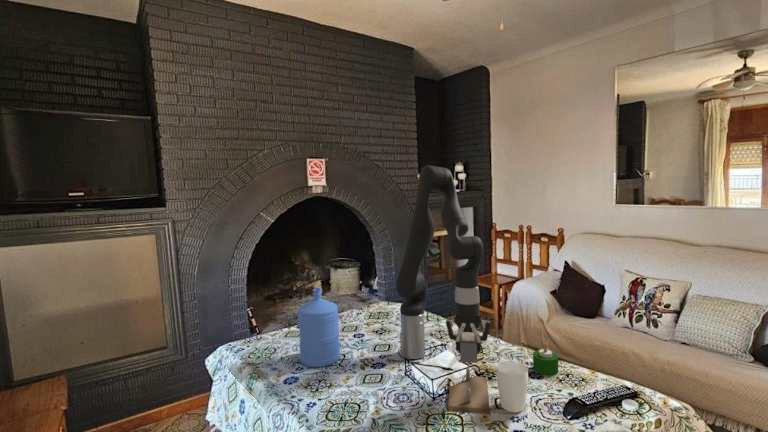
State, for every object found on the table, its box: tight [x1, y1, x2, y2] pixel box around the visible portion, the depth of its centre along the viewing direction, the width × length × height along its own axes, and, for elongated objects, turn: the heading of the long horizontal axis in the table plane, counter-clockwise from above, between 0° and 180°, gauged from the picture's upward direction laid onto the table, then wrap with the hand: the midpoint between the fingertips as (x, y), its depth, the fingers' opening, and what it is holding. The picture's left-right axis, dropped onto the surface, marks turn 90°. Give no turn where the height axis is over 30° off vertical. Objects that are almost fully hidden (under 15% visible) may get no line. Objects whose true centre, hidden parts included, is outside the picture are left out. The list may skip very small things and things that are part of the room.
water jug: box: [297, 287, 341, 368], centre depth 151 cm, size 16×16×28 cm
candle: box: [532, 342, 559, 377], centre depth 137 cm, size 8×8×10 cm
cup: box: [496, 360, 529, 414], centre depth 115 cm, size 9×9×12 cm
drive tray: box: [447, 367, 491, 414], centre depth 123 cm, size 12×19×5 cm, turn 168°
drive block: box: [459, 332, 478, 364], centre depth 122 cm, size 5×10×6 cm, turn 169°
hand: (468, 352), depth 122 cm, fingers closed on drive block, 5 cm apart
